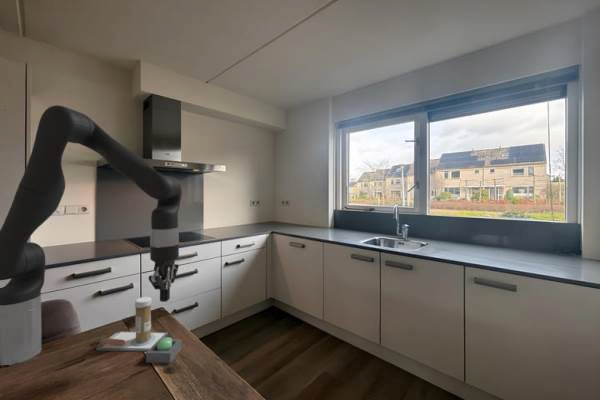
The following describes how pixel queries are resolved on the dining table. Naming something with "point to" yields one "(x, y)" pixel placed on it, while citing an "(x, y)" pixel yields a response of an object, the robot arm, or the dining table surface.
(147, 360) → the button box
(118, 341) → the pink rounded rod
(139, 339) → the sprinkles bottle
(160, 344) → the button
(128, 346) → the tray with round recess
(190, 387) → the dining table surface
